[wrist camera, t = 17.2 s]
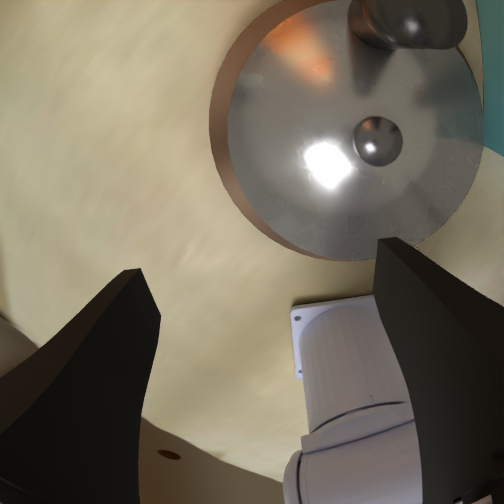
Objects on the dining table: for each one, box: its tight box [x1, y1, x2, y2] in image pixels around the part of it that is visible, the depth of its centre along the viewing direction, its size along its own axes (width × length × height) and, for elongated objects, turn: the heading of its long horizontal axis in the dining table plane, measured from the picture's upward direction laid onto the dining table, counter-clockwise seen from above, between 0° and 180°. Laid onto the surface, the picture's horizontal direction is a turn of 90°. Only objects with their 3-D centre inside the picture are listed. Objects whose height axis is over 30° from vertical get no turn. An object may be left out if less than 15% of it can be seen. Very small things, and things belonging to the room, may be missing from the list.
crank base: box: [209, 0, 478, 261], centre depth 15 cm, size 16×16×1 cm
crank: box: [228, 0, 484, 260], centre depth 12 cm, size 14×14×6 cm
